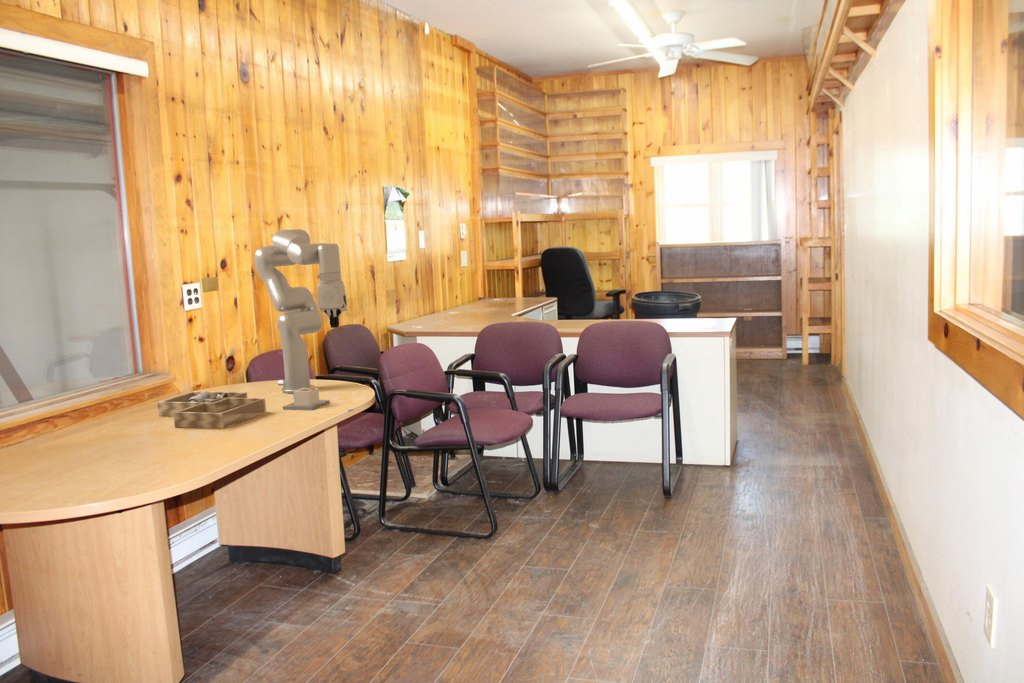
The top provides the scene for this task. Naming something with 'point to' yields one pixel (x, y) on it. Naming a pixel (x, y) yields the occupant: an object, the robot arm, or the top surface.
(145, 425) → the top surface
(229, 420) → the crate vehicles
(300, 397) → the grey block
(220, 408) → the tray
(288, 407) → the plate
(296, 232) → the robot arm
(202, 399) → the clip-on lamp
